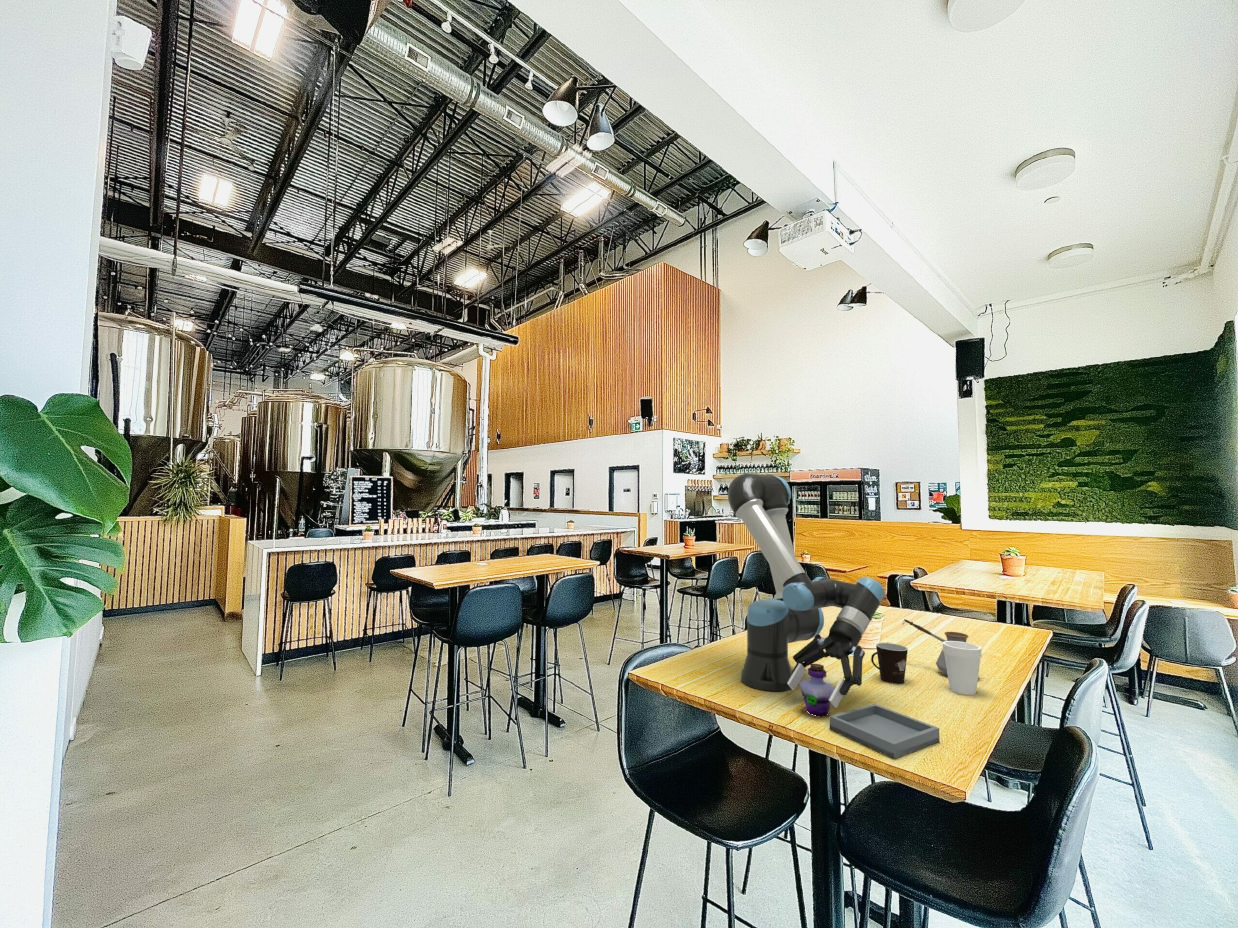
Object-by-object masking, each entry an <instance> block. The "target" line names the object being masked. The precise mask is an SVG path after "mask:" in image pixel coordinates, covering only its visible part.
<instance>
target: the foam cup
mask: <svg viewBox="0 0 1238 928" xmlns="http://www.w3.org/2000/svg"><path fill="white" fill-rule="evenodd" d="M942 649H943V652H944V655H945V661H946V668H947V674H948V676H947V679H948V685H949V690H950V691H951V692H953V693H956V694H958V695H964V696H974V695H977V689H978V681H979V673H980V666H981V658H982V655H983V654H982V647H981V646H980V645H977V644H974V643H970V642H967V641H966V642H959V641H947V640H946V641H944V642H942Z"/></svg>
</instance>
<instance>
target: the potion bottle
mask: <svg viewBox="0 0 1238 928" xmlns="http://www.w3.org/2000/svg"><path fill="white" fill-rule="evenodd" d="M809 666H810V667H809V668H807V675H808V676H810V679H802V681H801V680H800V682H799V687H800V692H801V696H802V697H803V701H804V705H805V711H806V710H807V711H808V712H809V713H810V714H813V715H816V716H820V717H819V718H823V717H822V716H829V715H830V714H829V713H830V709H831V705H832V704H831V703H830V701H829V699H830V697H831V695H832V693H833V691H834V690H835V688H836V686H835V685H833V684H832V683H831V682H828V681H824V679H825V678H826V677H827V670H826V669H825V666H824V665H823V664H820V663H812V664H810V665H809ZM827 714H829V715H827ZM813 715H812V716H813ZM816 716H815V717H816Z"/></svg>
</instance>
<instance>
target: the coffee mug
mask: <svg viewBox="0 0 1238 928" xmlns="http://www.w3.org/2000/svg"><path fill="white" fill-rule="evenodd" d="M875 647H876V652H874V653H872V655H871V658H870V661H871V663H872V665H873V666H874V667H875V668H876V669H877V670H879V678H880V680H881V681H883V682H886V683H889V684H894V685H895V684H896V685H901V684H904V683H905V677H906V669H907V668H906V667H907V660H908V651H909V648H908V647H907V646H905V645H902V644H897V643H892V642H878V643H876V644H875ZM876 655H877V661H878V662H877V663H878V665H876V663H875V661H874V658H875V656H876Z"/></svg>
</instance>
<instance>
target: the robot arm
mask: <svg viewBox="0 0 1238 928" xmlns="http://www.w3.org/2000/svg"><path fill="white" fill-rule="evenodd" d="M791 499H792V491H791V488H790V485H789V484H788V482H787V481H786V480H785V479H784V478H783V477H781V476H777V475H773V474H768V473H767V474H758V473H757V474H756V473H742V474H740V475H739V474H738V475H737V476H736V477H735V478H733V480H732V481H731V482H730V485H729V486H728V490H727V500H728V502H729V503H728V504H729V506H730V509H731V510H732V512H733V514H734V515H735V517H736V518H737V519H738V520H742V522H743V524H744V525H745V527H746V529H747V531H748V532H749V534H750V535H751V537H752V539H753V541H754V542H755V543H756V544H757V546H758V548H759V550H760V551H761V553H762V555H763V556H764V558H765V559H766V561H767V562H768V564H769V569H770V573H771V577H772V581H773V585H774V588H775V589H774V590H775V595H774V597H773V598H772V599H771V598H769V599H759V600H758V599H757V600H756V601H753V602H751V603H750V604H749V605H748V608H747V616H746V627H747V628H746V630H747V631H746V633H747V634H746V636H747V639H746V643H747V648H746V649H747V650H746V651H747V653H746V656H745V657H746V658H745V660H744V663H743V668H742V670H741V672H740V674H741V675H740V676H741V677H740V680H741V682H742V683H743V684H744V685H746V686H748V687H750V688H753V689H758V690H761V691H769V692H784V691H789V690H792V691H795V690H796V688H797V687H798V685H799V684H800V682H801V680H802V678H803V677H804V674H805V673H806V671H807V669H806V668H807V667H809V666H810V664H815V663H816V662H818V661H820V660H822V659H823V658H828V657H829V658H835V659H837V660H840V663H841V667H842V673H843V676H842V677H840V679H839V681H838V682H837V684H836V686H835V690H834V691H833V693H832V695H831V697H830V699H829V701H830V703H831V705H832V706H833V708H836V709H837V708H838V706H839V705H840V702H841V700H842V698H843V697H846V696H847V694H849V692H850V689H851V688H852V687H853V686H858V687H860V686H862V684H863V683H862V681H863V659H864V657H865V654H866V652H865V650H864V649H863V648H862V646H861V645H859V643H860V642H861V640H862V638H863V637H862V636H863V635H864V633H865V632H866V630H867V629H868V626H869V624H870V622H871V621H872V619H873V617H874V615H875V614H876V612H877V610H878V608H879V607H880V606H881V604H882V602H883V601H882V600H883V598H884V597H885V595H886V591H885V589H884V587H883V585H882V584H881V583H880V582H879V581H877V580H875V579H873V578H871V577H867V576H864V577H859V579H858V580H857V581H856V583H852V582H847V581H841V580H837V579H833V578H830V577H821V576H817V577H814V579H813V580H811V579H810V577H809V576H808V574H807V573H806V571H805V569H804V568H803V567H802V564H801V563H800V562H799V560H798V559H797V558H796V555H795V550H794V546H793V542H792V539H791V538H792V537H791V534H790V530H789V525H788V523H787V518H786V515H787V513H788V512H789V507H788V505H789V504H790V502H791V501H790V500H791ZM828 607H829V608H830V607H836V608H840V612H839V613H838V615H837V616H836V618H835V620H834V622H833V624H832V625H831V626H830V628H829V633H828V636H826V637H822V636H821V634H820V633H821V632H822V630H823V628H824V624H825V617H824V612H823V610H822V608H823V609H824V608H828ZM810 639H812V640H811V641H810V642H809V643H807V644H806V645H805V646H804V647H803V648H801V649H800V650H799V651H798V652H797V653H795V654H794V655H793V656H792V659H793V660H794V662H795V663H796V664H795V665H794V668H793V669H792V668H791V664H790V661H789V656H788V655H789V651H788V650H789V644H790V643H791V644H792V643H796V642H802V641H803V642H804V641H809V640H810ZM852 654H853V655H852ZM850 655H852V656H853V658H852V670H851V665H850V659H849V658H850V657H849V656H850Z"/></svg>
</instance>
